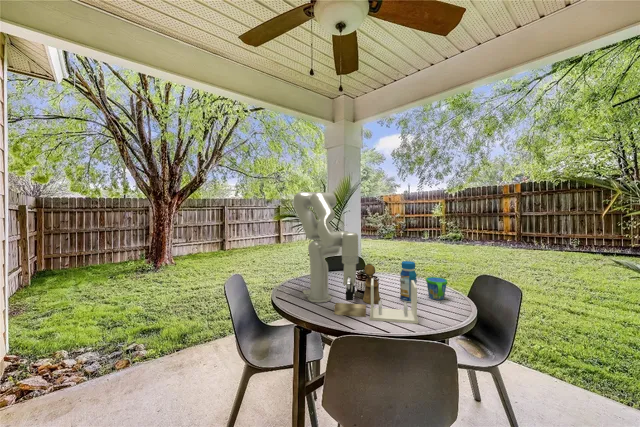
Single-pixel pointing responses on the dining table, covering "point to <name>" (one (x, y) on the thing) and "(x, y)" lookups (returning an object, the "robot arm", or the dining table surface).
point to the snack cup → (436, 287)
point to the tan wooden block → (350, 309)
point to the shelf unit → (395, 314)
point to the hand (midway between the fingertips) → (350, 296)
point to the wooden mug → (370, 271)
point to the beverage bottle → (407, 280)
